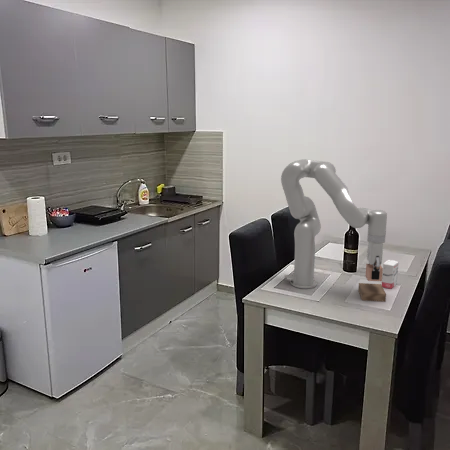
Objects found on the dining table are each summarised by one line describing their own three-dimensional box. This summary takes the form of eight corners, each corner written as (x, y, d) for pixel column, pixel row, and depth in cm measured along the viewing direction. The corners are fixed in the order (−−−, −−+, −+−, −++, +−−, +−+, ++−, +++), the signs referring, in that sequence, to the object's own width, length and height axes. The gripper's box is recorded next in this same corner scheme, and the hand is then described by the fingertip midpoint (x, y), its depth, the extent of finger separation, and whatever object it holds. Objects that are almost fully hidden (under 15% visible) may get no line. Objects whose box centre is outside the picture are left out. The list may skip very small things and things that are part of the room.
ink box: (391, 289, 209) (393, 265, 206) (380, 287, 212) (382, 263, 209) (397, 284, 216) (399, 261, 213) (386, 281, 219) (389, 259, 216)
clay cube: (367, 280, 197) (368, 268, 196) (365, 276, 203) (366, 263, 201) (381, 281, 196) (382, 268, 195) (378, 276, 202) (379, 264, 201)
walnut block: (361, 301, 197) (362, 292, 196) (358, 291, 208) (358, 283, 207) (385, 302, 195) (386, 294, 194) (380, 292, 207) (380, 284, 206)
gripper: (363, 233, 204) (361, 270, 208) (371, 243, 187) (368, 283, 192) (380, 233, 203) (378, 270, 207) (389, 243, 186) (386, 283, 191)
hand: (373, 276), depth 199 cm, fingers closed on clay cube, 6 cm apart
